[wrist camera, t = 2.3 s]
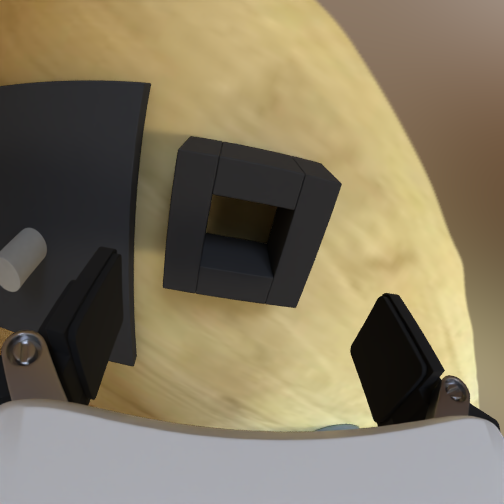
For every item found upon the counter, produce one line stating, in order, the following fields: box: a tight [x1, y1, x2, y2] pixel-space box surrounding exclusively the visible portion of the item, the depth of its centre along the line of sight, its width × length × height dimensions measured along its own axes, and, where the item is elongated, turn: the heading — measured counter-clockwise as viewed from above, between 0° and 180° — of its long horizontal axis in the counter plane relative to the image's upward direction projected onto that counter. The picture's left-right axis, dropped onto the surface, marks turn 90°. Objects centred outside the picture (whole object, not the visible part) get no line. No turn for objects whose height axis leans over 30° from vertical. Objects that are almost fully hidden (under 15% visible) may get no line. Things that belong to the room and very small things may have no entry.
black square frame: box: [163, 136, 342, 308], centre depth 15 cm, size 7×7×4 cm
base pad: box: [0, 81, 151, 366], centre depth 15 cm, size 20×14×5 cm
